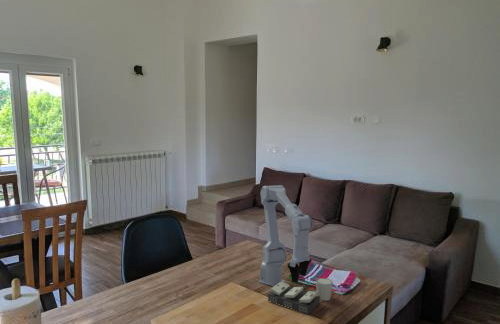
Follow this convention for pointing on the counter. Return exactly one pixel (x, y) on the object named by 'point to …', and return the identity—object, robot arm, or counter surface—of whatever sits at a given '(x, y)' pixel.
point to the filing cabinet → (294, 301)
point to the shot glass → (324, 288)
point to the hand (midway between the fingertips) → (298, 278)
